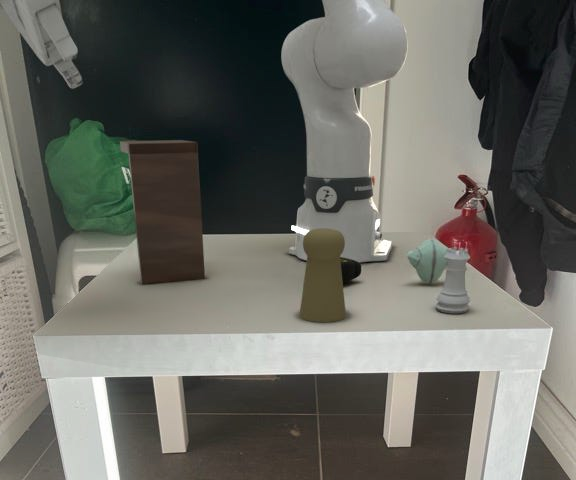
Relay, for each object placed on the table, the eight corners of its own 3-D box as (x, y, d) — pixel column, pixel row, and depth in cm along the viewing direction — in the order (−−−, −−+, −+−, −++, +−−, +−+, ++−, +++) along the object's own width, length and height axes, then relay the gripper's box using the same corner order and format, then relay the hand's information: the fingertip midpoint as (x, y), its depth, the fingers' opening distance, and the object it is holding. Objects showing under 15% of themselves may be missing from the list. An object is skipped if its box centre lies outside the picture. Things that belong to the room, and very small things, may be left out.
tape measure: (363, 282, 100) (364, 258, 99) (334, 290, 96) (335, 265, 94) (330, 275, 104) (330, 252, 103) (301, 282, 100) (301, 258, 98)
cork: (307, 323, 80) (307, 234, 76) (294, 310, 86) (293, 226, 81) (352, 319, 82) (355, 232, 77) (336, 307, 87) (338, 224, 83)
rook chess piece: (433, 304, 88) (438, 245, 85) (466, 305, 87) (472, 246, 84) (437, 314, 84) (442, 252, 81) (472, 314, 83) (478, 253, 80)
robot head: (406, 287, 97) (408, 242, 94) (399, 281, 100) (402, 237, 98) (458, 286, 97) (462, 241, 95) (449, 280, 101) (453, 236, 98)
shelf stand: (132, 269, 109) (119, 141, 101) (190, 265, 113) (182, 140, 105) (142, 284, 100) (128, 143, 92) (205, 278, 103) (197, 142, 95)
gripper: (14, -119, 61) (96, 23, 65) (39, -19, 81) (101, 86, 84) (-46, -91, 60) (40, 51, 64) (-6, 4, 80) (58, 109, 83)
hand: (75, 72), depth 74 cm, fingers open, 8 cm apart
